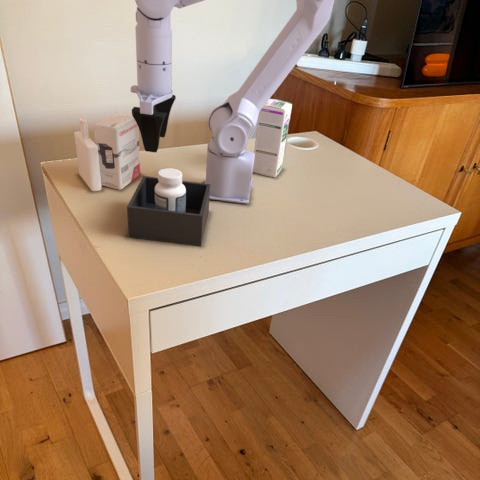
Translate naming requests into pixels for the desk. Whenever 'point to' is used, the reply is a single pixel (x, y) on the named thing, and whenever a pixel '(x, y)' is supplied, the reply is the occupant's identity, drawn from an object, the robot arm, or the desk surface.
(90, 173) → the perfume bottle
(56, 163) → the desk surface
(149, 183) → the dark grey open box
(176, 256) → the desk surface
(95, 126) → the ink box
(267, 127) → the syrup box
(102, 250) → the desk surface
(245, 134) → the robot arm
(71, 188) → the desk surface
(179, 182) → the pill bottle
